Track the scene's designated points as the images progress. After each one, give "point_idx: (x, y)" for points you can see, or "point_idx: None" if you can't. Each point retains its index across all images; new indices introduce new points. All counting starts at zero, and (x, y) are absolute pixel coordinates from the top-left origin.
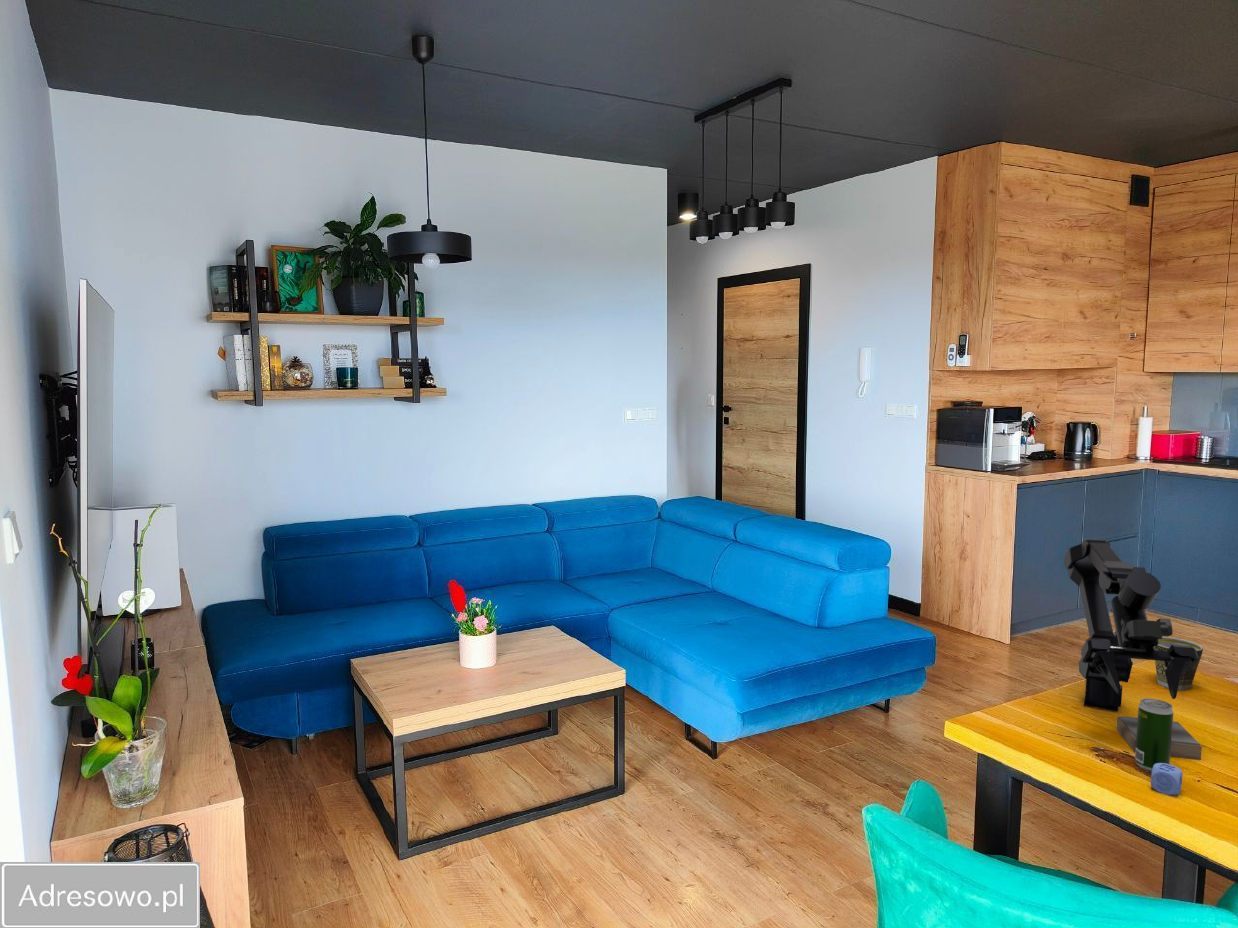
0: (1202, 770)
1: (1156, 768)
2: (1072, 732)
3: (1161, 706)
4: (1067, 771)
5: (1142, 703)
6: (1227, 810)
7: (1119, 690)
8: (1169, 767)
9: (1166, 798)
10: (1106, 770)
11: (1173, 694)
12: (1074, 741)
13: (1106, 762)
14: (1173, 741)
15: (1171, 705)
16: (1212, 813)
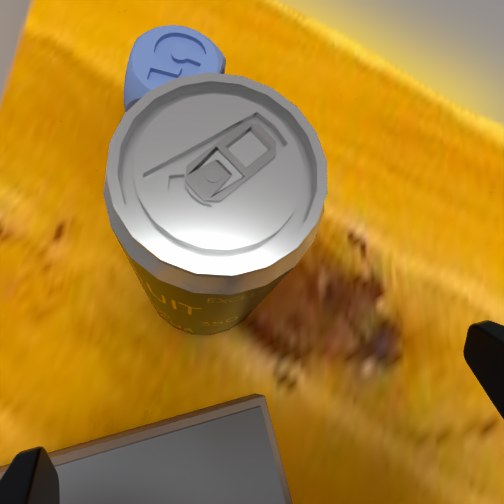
0: (20, 342)
1: (212, 44)
2: (480, 486)
3: (189, 118)
4: (438, 110)
5: (312, 130)
6: (20, 47)
7: (483, 322)
8: (167, 67)
9: None
10: (341, 170)
11: (39, 468)
12: (459, 382)
13: (344, 236)
14: (100, 453)
15: (110, 175)
16: (70, 13)
